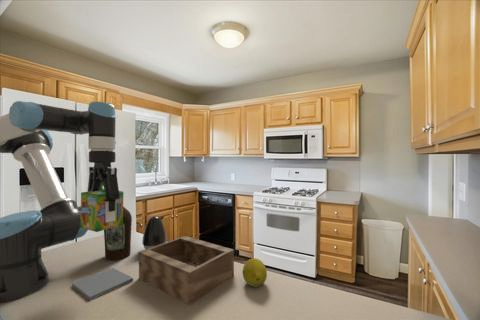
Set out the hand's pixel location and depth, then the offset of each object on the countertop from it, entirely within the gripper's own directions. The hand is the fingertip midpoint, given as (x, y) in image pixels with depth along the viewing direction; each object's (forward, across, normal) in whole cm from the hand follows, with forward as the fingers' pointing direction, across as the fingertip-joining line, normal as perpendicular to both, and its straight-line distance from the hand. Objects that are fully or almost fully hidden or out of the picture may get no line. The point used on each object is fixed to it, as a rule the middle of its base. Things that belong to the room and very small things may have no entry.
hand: (102, 218), depth 76 cm
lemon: (+21, -41, -28) cm, 54 cm away
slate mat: (+21, 0, 0) cm, 21 cm away
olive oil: (+21, +18, -14) cm, 31 cm away
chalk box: (+3, 0, 0) cm, 3 cm away
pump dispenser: (+21, +11, -27) cm, 36 cm away
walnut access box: (+21, -19, -19) cm, 34 cm away
